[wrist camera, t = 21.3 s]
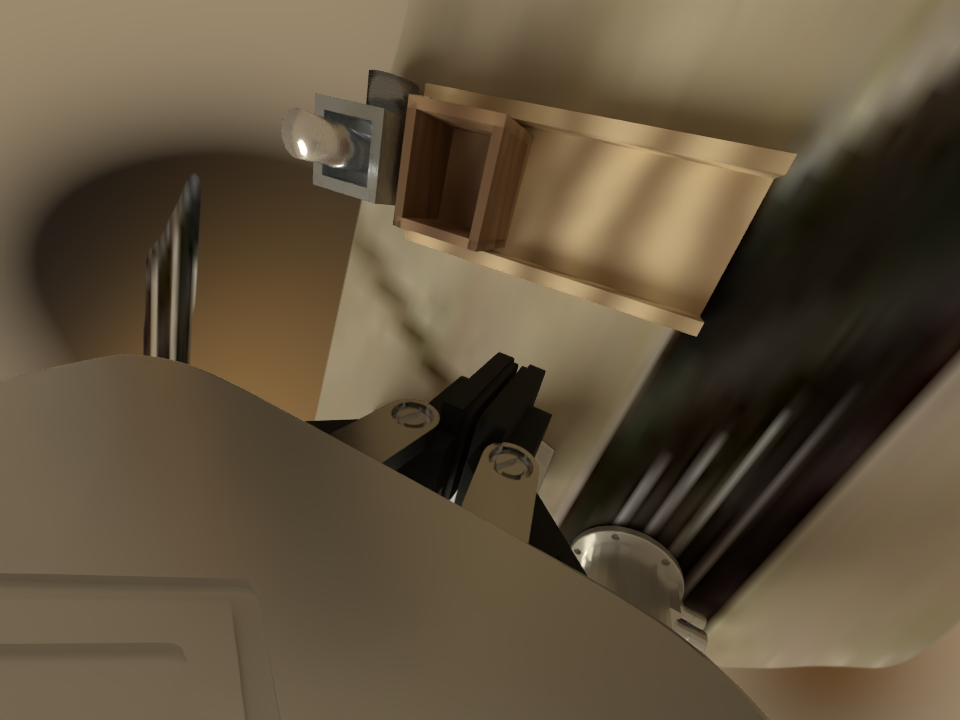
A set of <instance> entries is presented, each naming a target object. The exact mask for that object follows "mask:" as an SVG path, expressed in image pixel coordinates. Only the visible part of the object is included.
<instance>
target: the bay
mask: <svg viewBox="0 0 960 720" xmlns="http://www.w3.org/2000/svg"><path fill="white" fill-rule="evenodd" d="M413 95H416V96H421V97H426V98H431V99H436V100H441V101H446V102H451V103H455V104H460V105H465V106H470V107H475V108H480V109H485V110H490V111H495V112H499V113H504V114H508V115H509V116H510V117H511V118H512V119H513V120H515V121H516V122H517V123H518V124H519V125H521V126H522V127H523V128H524V129H525V130H527V131H528V132H529V133H530V134H531V135H532V136H534V137H533V140H532V144H531V148H530V152H529V156H528V160H527V163H526V167H525V171H524V175H523V179H522V183H521V186H520V190H519V194H518V198H517V202H516V206H515V209H514V213H513V217H512V221H511V225H510V229H509V232H508V236H507V240H506V244H505V247H504V248H497V249H491V250H484V251H478V252H475V251H472V250H469V249H465V248H462V247H459V246H456V245H453V244H450V243H447V242H444V241H441V240H438V239H435V238H432V237H429V236H425V235H422V234H419V233H416V232H413V231H410V230H407V229H405V235H404V239H406V240H409V241H412V242H415V243H418V244H421V245H424V246H427V247H430V248H433V249H436V250H439V251H442V252H445V253H448V254H451V255H454V256H457V257H460V258H463V259H466V260H469V261H472V262H475V263H478V264H481V265H484V266H487V267H490V268H493V269H496V270H499V271H502V272H505V273H508V274H511V275H514V276H517V277H520V278H523V279H526V280H529V281H532V282H535V283H538V284H541V285H544V286H547V287H550V288H553V289H556V290H559V291H562V292H565V293H568V294H571V295H574V296H577V297H580V298H582V299H585V300H588V301H591V302H594V303H597V304H600V305H603V306H606V307H609V308H612V309H615V310H618V311H621V312H624V313H627V314H630V315H633V316H636V317H639V318H642V319H645V320H648V321H651V322H654V323H657V324H660V325H663V326H666V327H669V328H672V329H675V330H678V331H681V332H684V333H687V334H690V335H693V336H696V337H697V335H698V333H699V331H700V330H701V328H702V326H703V324H704V322H703V320H702V319H701V317H700V315H701V313H702V311H703V309H704V307H705V306H706V304H707V302H708V300H709V298H710V296H711V295H712V293H713V291H714V289H715V287H716V285H717V283H718V282H719V280H720V278H721V276H722V274H723V272H724V270H725V269H726V267H727V265H728V263H729V261H730V259H731V258H732V256H733V254H734V252H735V250H736V248H737V246H738V245H739V243H740V241H741V239H742V237H743V235H744V233H745V232H746V230H747V228H748V226H749V224H750V222H751V221H752V219H753V217H754V215H755V213H756V211H757V209H758V208H759V206H760V204H761V202H762V200H763V198H764V197H765V195H766V193H767V191H768V189H769V187H770V185H771V184H772V182H773V180H774V179H775V178H778V177H781V176H784V175H786V174H787V172H788V170H789V168H790V166H791V164H792V163H793V161H794V159H795V157H796V155H797V154H794V153H788V152H783V151H778V150H773V149H767V148H762V147H757V146H752V145H747V144H741V143H736V142H731V141H726V140H721V139H715V138H710V137H705V136H700V135H695V134H689V133H684V132H679V131H674V130H669V129H663V128H658V127H653V126H648V125H643V124H637V123H632V122H627V121H622V120H617V119H611V118H606V117H601V116H596V115H591V114H585V113H580V112H575V111H570V110H564V109H559V108H554V107H549V106H544V105H538V104H533V103H528V102H523V101H518V100H512V99H507V98H502V97H497V96H492V95H486V94H481V93H476V92H471V91H466V90H460V89H455V88H450V87H445V86H440V85H434V84H429V83H425V90H424V96H422V95H417V94H413ZM396 227H398V226H396ZM399 228H401V227H399ZM402 229H404V228H402Z"/></svg>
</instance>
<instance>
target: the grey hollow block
mask: <svg viewBox="0 0 960 720" xmlns="http://www.w3.org/2000/svg"><path fill="white" fill-rule="evenodd" d="M418 88H419V87H418V86H417V85H416V84H414V83H412V82H411V81H409V80H406V79H404V78H402V77H399V76H396V75H393V74H390V73H387V72H383V71H378V70H369V76H368V88H367V89H368V90H367V101H366V104H361V103H357V102H352V101H348V100H344V99H339V98H335V97H330V96H325V95H321V94H317V93H316V94H315V114H316V115H319V116H321V117H324V118H326V119H329V120H332V121H334V122H337V123H340V124H342V125H345V126H347V127H350V128H353V129H355V130H358V131H360V132H363V133H366V134H368V135H371V145H370V157H369V168H368V175H367V174H363V173H359V172H354V171H350V170H346V169H341V168H337V167H333V166H329V165H324V164H320V163H316V162H314V167H313V168H314V169H313V184H314V185H317V186H320V187H323V188H327V189H330V190H333V191H336V192H340V193H343V194H346V195H350V196H353V197H356V198H359V199H362V200H365V201H368V202H372V203H375V204H386V205H395V203H396V195H397V187H398V179H399V171H400V163H401V154H402V146H403V138H404V130H405V122H406V114H407V105H408V97H409V94H412V95H413V94H417V95H418Z"/></svg>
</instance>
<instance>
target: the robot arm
mask: <svg viewBox="0 0 960 720" xmlns="http://www.w3.org/2000/svg"><path fill="white" fill-rule="evenodd" d="M517 369H518V364H516V363H514V358H513V357H510V356H508V355H505V354H503V353H500V352H499V353H497V354H496V355H495V356H494V357H493V358H492V359H490V360H489V361H488V362H487V363H486V364H485V365H484V366H483V367H481V368H480V369H479V370H478V371H477V372H476V373H475V374H474V375H472V376H471V377H470V378H466V377H464V376H461V377H459V378H458V379H457V380H456V381H455V382H453V383H452V384H451V385H450V386H449V387H447V388H446V389H445V390H444V391H443V392H441V393H440V394H439V395H438V396H437V397H435V398H434V399H433V400H432V401H431V402H429V403H426V402H424V401H420V400H416V399H401V400H397V401H395V402H392V403H390V404H388V405H386V406H384V407H382V408H380V409H378V410H376V411H374V412H372V413H370V414H368V415H366V416H364V417H362V418H360V419H353V420H326V421H303V420H301V419H299V418H297V417H295V416H293V415H291V414H290V413H288V412H286V411H284V410H282V409H280V408H278V407H277V406H275V405H273V404H271V403H269V402H267V401H265V400H263V399H262V398H260V397H258V396H256V395H254V394H252V393H250V392H249V391H246V390H245V389H243V388H240V387H239V386H236V385H234V384H232V383H230V382H228V381H226V380H224V379H222V378H220V377H217V376H216V375H214V374H212V373H209V372H207V371H204V370H202V369H199V368H197V367H194V366H191V365H188V364H184V363H181V362H177V361H173V360H169V359H164V358H158V357H152V356H143V355H125V354H123V355H113V356H106V357H100V358H96V359H91V360H86V361H81V362H76V363H72V364H67V365H63V366H58V367H54V368H49V369H45V370H40V371H36V372H33V373H28V374H24V375H19V376H15V377H11V378H7V379H3V380H0V720H770V719H769V718H768V717H767V716H766V715H765V713H764V712H763V711H762V710H761V709H760V708H759V707H758V705H757V704H756V703H755V702H754V701H753V700H752V699H751V698H750V697H749V696H748V695H747V694H746V693H745V692H744V691H743V690H742V689H741V688H740V687H739V686H738V685H737V684H736V683H735V682H734V681H733V680H732V679H731V678H729V677H728V676H727V675H726V674H725V673H724V672H723V671H722V670H721V669H720V668H719V667H718V666H717V665H716V664H714V663H713V662H712V661H711V660H710V659H709V658H708V657H707V656H706V655H705V654H703V653H702V652H703V651H704V650H705V649H706V647H707V642H708V640H707V634H706V633H705V632H704V631H702V630H703V629H704V628H705V626H706V617H705V616H704V615H702V614H700V613H698V612H696V611H694V610H693V609H689V608H687V607H686V606H684V604H683V602H682V601H681V599H682V597H683V594H684V579H683V574H682V570H681V568H680V566H679V564H678V562H677V560H676V559H675V558H674V556H673V555H672V554H671V553H670V552H669V551H668V550H667V549H666V548H665V547H664V546H663V545H662V544H660V543H659V542H657V541H656V540H654V539H653V538H651V537H650V536H647V535H645V534H643V533H641V532H639V531H636V530H633V529H630V528H625V527H620V526H598V527H594V528H591V529H588V530H586V531H584V532H582V533H581V534H580V535H578V536H577V537H576V538H575V540H574V541H573V543H572V545H571V548H570V546H569V544H568V543H567V541H566V540H565V538H564V536H563V535H562V533H561V531H560V530H559V528H558V526H557V525H556V523H555V522H554V520H553V518H552V517H551V515H550V513H549V512H548V510H547V509H546V507H545V505H544V504H543V502H542V500H541V499H540V497H539V495H538V494H537V492H536V491H537V485H538V479H539V465H538V463H537V461H536V459H535V456H536V453H537V451H538V449H539V446H540V444H541V442H542V439H543V437H544V434H545V432H546V429H547V427H548V424H549V422H550V419H551V416H552V414H549V413H547V412H545V411H542V410H540V409H538V408H536V407H533V405H534V402H535V400H536V397H537V394H538V392H539V389H540V386H541V383H542V381H543V378H544V375H545V370H543V369H540V368H538V367H535V366H533V365H529V366H528V368H526V367H524V366H522V367H521V368H520V370H519V371H518V372H517ZM516 372H517V373H516ZM456 491H457V494H456V497H455V501H454V503H453V502H452V501H450V500H451V498H452V497H453V496H454V494H455V493H456ZM680 618H683V619H684V620H686V621H688V622H689V623H690V624H689V623H685V622H683V621H681V620H680ZM691 624H692V625H691ZM693 625H694V626H693ZM695 626H696V627H698V628H700V629H702V630H700V629H698V628H696V627H695Z"/></svg>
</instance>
